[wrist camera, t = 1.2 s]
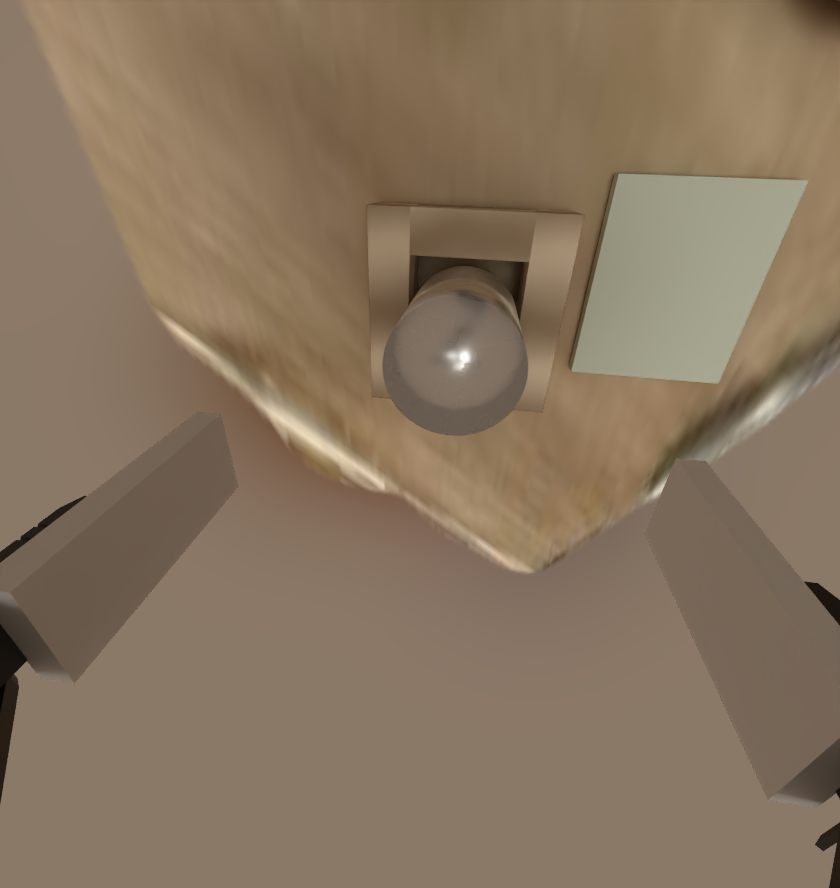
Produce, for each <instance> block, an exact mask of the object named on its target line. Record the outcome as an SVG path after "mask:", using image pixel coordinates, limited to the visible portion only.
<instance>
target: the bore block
mask: <svg viewBox="0 0 840 888" xmlns="http://www.w3.org/2000/svg"><path fill="white" fill-rule="evenodd" d="M583 220H584V215H583V214H580V213H577V212H573V211H559V210H538V209H516V208H494V207H472V206H451V205H429V204H407V203H385V202H381V203H374V204H368V205H367V231H368V266H369V302H370V338H371V373H372V397H378V398H389V399H391V397H390V395H389V393H388V391H387V388H386V386H385V382H384V377H383V369H382V364H383V354H384V349H385V346H386V343H387V340H388V338H389V336H390V334H391V332H392V331H393V329H394V328H395V326H396V325H397V323H398V322H399V320H400V319H401V317H402V315H403V314H404V312H405V311H406V309H407V308H408V306H409V305H410V303H411V302H412V300H413V299H414V297H415V296H416V294H417V287H418V256H433V257H450V258H467V259H484V260H501V261H519V262H523V264H522V271H521V277H520V284H519V290H518V297H517V303H516V310H517V314H518V318H519V322H520V326H521V331H522V335H523V339H524V343H525V347H526V352H527V357H528V377H527V382H526V386H525V389H524V392H523V394H522V396H521V398H520V400H519V401H518V403H517V405H516V406H515V407H514V409H513V410H520V411H531V412H541V413H542V412H543V407H544V403H545V398H546V393H547V389H548V384H549V379H550V375H551V370H552V365H553V360H554V356H555V351H556V346H557V342H558V337H559V332H560V328H561V323H562V318H563V314H564V309H565V304H566V300H567V295H568V290H569V285H570V281H571V276H572V271H573V267H574V262H575V257H576V253H577V248H578V243H579V239H580V234H581V229H582V224H583Z"/></svg>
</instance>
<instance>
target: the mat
mask: <svg viewBox="0 0 840 888" xmlns="http://www.w3.org/2000/svg"><path fill="white" fill-rule="evenodd" d="M807 183H808V181H807V180H780V179H753V178H726V177H699V176H672V175H645V174H614V178H613V182H612V186H611V190H610V195H609V199H608V203H607V207H606V211H605V216H604V220H603V224H602V228H601V233H600V237H599V241H598V245H597V250H596V254H595V258H594V262H593V267H592V271H591V275H590V279H589V284H588V288H587V292H586V296H585V301H584V305H583V309H582V313H581V318H580V322H579V326H578V330H577V335H576V339H575V343H574V347H573V352H572V356H571V360H570V364H569V368H570V370H571V372H583V373H595V374H607V375H619V376H632V377H644V378H656V379H668V380H680V381H693V382H705V383H717V384H718V383H719V381H720V378H721V376H722V374H723V372H724V369H725V367H726V365H727V363H728V360H729V358H730V356H731V354H732V351H733V349H734V347H735V345H736V342H737V340H738V338H739V336H740V333H741V331H742V329H743V327H744V324H745V322H746V320H747V318H748V315H749V313H750V311H751V309H752V306H753V304H754V302H755V300H756V297H757V295H758V293H759V291H760V288H761V286H762V284H763V282H764V279H765V277H766V275H767V273H768V270H769V268H770V266H771V264H772V261H773V259H774V257H775V255H776V252H777V250H778V248H779V246H780V243H781V241H782V239H783V237H784V234H785V232H786V230H787V228H788V225H789V223H790V221H791V219H792V216H793V214H794V212H795V210H796V207H797V205H798V203H799V201H800V198H801V196H802V194H803V192H804V189H805V187H806V185H807Z"/></svg>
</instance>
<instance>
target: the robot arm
mask: <svg viewBox="0 0 840 888" xmlns="http://www.w3.org/2000/svg"><path fill="white" fill-rule="evenodd" d="M237 488H238V483H237V479H236V475H235V470H234V466H233V462H232V458H231V453H230V449H229V445H228V441H227V437H226V433H225V428H224V424H223V420H222V416H221V414H216V413H207V412H196V413H195V414H194V415H192V416H191V417H190V418H188V419H187V420H186V421H184V422H183V423H182V424H180V425H179V426H178V427H177V428H175V429H174V430H173V431H172V432H170V433H169V434H168V435H166V436H165V437H164V438H162V439H161V440H160V441H158V442H157V443H156V444H155V445H153V446H152V447H150V448H149V449H148V450H147V451H146V452H144V453H143V454H141V455H140V456H139V457H137V458H136V459H135V460H134V461H132V462H131V463H130V464H128V465H127V466H126V467H124V468H123V469H122V470H121V471H119V472H118V473H117V474H115V475H114V476H113V477H111V478H110V479H109V480H107V481H106V482H105V483H104V484H102V485H101V486H100V487H98V488H97V489H96V490H95V491H93V492H92V493H91V494H89V495H88V496H83V497H81V498H79V499H77V500H75V501H73V502H71V503H69V504H67V505H65V506H63V507H60V508H59V509H57V510H56V511H55V512H53V513H52V514H51V515H49V516H48V517H47V518H45V519H44V520H43V521H41V522H40V523H39V524H38V527H33V528H32V529H30V530H29V531H28V532H27V533H25V534H24V535H22V536H21V539H20V540H16V541H14V542H13V543H12V544H10V545H9V546H8V547H6V548H5V549H4V550H2V551H1V552H0V802H1V796H2V789H3V783H4V777H5V771H6V764H7V758H8V752H9V746H10V739H11V733H12V727H13V721H14V715H15V709H16V702H17V696H18V690H19V685H18V679H17V677H16V676H15V675H14V673H15V672H16V671H17V670H18V669H19V668H20V667H21V666H22V665H23V664H24V663H25V662H26V661H28V663H29V664H30V665H31V667H32V668H33V669H34V670H35V672H36V673H37V674H38V676H39V677H40V678H45V679H50V680H57V681H62V682H68V683H75V682H76V681H77V680H78V679H79V677H80V676H81V675H82V674H83V673H84V672H85V670H86V669H87V668H88V667H89V666H90V664H91V663H92V662H93V661H94V659H95V658H96V657H97V656H98V655H99V654H100V652H101V651H102V650H103V649H104V647H105V646H106V645H107V644H108V643H109V641H110V640H111V639H112V638H113V637H114V636H115V634H116V633H117V632H118V631H119V629H120V628H121V627H122V626H123V625H124V624H125V622H126V621H127V620H128V619H129V618H130V616H131V615H132V614H133V613H134V611H135V610H136V609H137V608H138V606H140V604H141V603H142V602H143V601H144V600H145V598H146V597H147V596H148V594H149V593H150V592H151V591H152V590H153V589H154V587H155V586H156V585H157V584H158V583H159V582H160V580H161V579H162V578H163V577H164V575H165V574H166V573H167V572H168V570H170V568H171V567H172V566H173V565H174V564H175V562H176V561H177V560H178V559H179V558H180V556H181V555H182V554H183V553H184V552H185V550H186V549H187V548H188V547H189V546H190V544H191V543H192V542H193V541H194V539H195V538H196V537H197V536H198V535H199V534H200V532H201V531H202V530H203V529H204V527H205V526H206V525H207V524H208V523H209V522H210V520H211V519H212V518H213V517H214V515H215V514H216V513H217V512H218V510H219V509H220V508H221V507H222V506H223V505H224V504H225V502H226V501H227V500H228V499H229V498H230V496H231V495H232V494H233V493H234V491H235V490H236V489H237ZM645 536H646V538H647V540H648V542H649V544H650V547H651V549H652V551H653V553H654V555H655V557H656V559H657V562H658V564H659V566H660V568H661V570H662V572H663V575H664V577H665V579H666V581H667V583H668V585H669V587H670V589H671V592H672V594H673V596H674V598H675V600H676V602H677V605H678V607H679V609H680V611H681V613H682V616H683V617H684V620H685V622H686V624H687V626H688V629H689V630H690V633H691V635H692V637H693V639H694V641H695V644H696V646H697V648H698V650H699V652H700V654H701V657H702V659H703V661H704V663H705V665H706V667H707V670H708V672H709V674H710V676H711V678H712V680H713V682H714V685H715V687H716V689H717V691H718V693H719V695H720V697H721V700H722V702H723V704H724V706H725V708H726V711H727V712H728V715H729V717H730V719H731V721H732V723H733V726H734V728H735V730H736V732H737V734H738V736H739V738H740V741H741V743H742V745H743V747H744V749H745V751H746V754H747V756H748V758H749V760H750V762H751V764H752V767H753V769H754V771H755V773H756V775H757V777H758V779H759V782H760V784H761V786H762V788H763V790H764V792H765V795H766V797H767V799H768V800H770V801H776V802H782V803H788V804H794V805H800V806H806V807H812V808H817V807H818V806H819V805H821V804H822V803H824V802H825V801H826V800H828V799H829V798H830V797H831V796H833V795H834V794H835V793H837V795H838V796H839V798H840V600H839V599H838V598H836V597H835V596H834V595H832V594H831V593H830V592H828V591H827V590H826V589H824V588H823V587H822V586H821V585H819V584H818V583H812V582H804V581H803V580H802V579H801V578H800V576H799V575H798V574H797V573H796V572H795V570H794V569H793V568H792V567H791V565H790V564H789V563H788V562H787V560H786V559H785V558H784V557H783V556H782V554H781V553H780V552H779V551H778V549H777V548H776V547H775V546H774V544H773V543H772V542H771V541H770V540H769V538H768V537H767V536H766V535H765V533H764V532H763V531H762V530H761V528H760V527H759V526H758V525H757V524H756V522H755V521H754V520H753V519H752V518H751V516H750V515H749V514H748V512H746V510H745V509H744V508H743V506H742V505H741V504H740V503H739V501H738V500H737V499H736V498H735V497H734V495H733V494H732V493H731V492H730V490H729V489H728V488H727V487H726V486H725V484H724V483H723V482H722V481H721V479H720V478H719V477H718V476H717V474H716V473H715V472H714V471H713V470H712V468H711V467H710V466H709V465H708V463H707V462H706V461H698V460H687V459H677V458H676V460H675V463H674V465H673V467H672V470H671V472H670V474H669V477H668V479H667V481H666V484H665V486H664V488H663V491H662V493H661V495H660V498H659V500H658V503H657V505H656V507H655V510H654V512H653V514H652V517H651V519H650V522H649V524H648V526H647V528H646V531H645ZM835 843H837V846H836V852H835V858H834V863H833V869H832V874H831V880H830V886H829V888H840V823H838V824H837V825H835V826H834V827H832V828H831V829H829V830H828V831H827V832H825V833H824V834H822V835H821V836H820V838H819V839H818V841H817V842H816V844H815V845H816V846H817V847H819V848H820V849H821V850H822V851H824V850H826V849H827V848H829V847H830V846H832V845H834V844H835Z"/></svg>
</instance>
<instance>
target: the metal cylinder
mask: <svg viewBox="0 0 840 888" xmlns="http://www.w3.org/2000/svg"><path fill="white" fill-rule="evenodd" d="M382 369H383V377H384V382H385V386H386V388H387V391H388V393H389V395H390V397H391V399H392V401H393V402H394V404H395V405H396V407H397V408H398V409H399V410H400V411H401V412H402V414H404V415H405V416H406V417H407V418H408V419H409V420H411V421H412V422H414V423H415V424H417V425H418V426H420V427H422V428H424V429H427V430H429V431H432V432H435V433H439V434H445V435H468V434H473V433H477V432H480V431H483V430H485V429H488V428H490V427H492V426H494V425H495V424H497V423H499V422H500V421H501V420H502V419H504V418H505V417H506V416H507V415H508V414H509V413H510V412H511V411H512V410H513V409H514V407H515V406H516V405H517V403H518V401H519V400H520V398H521V396H522V394H523V392H524V389H525V386H526V382H527V377H528V357H527V352H526V347H525V343H524V339H523V335H522V331H521V326H520V322H519V318H518V314H517V310H516V305H515V302H514V299H513V297H512V295H511V293H510V291H509V290H508V288H507V287H506V285H505V284H504V283H503V282H502V281H501V280H500V279H499V278H497V277H496V276H495V275H493V274H492V273H490V272H488V271H486V270H484V269H481V268H477V267H472V266H457V267H451V268H448V269H445V270H443V271H440V272H438V273H437V274H435V275H434V276H432V277H431V278H430V279H428V280H427V281H426V282H425V283H424V284H423V286H422V287H421V288H420V290H419V291H418V292H417V294H416V296H415V297H414V299H413V300H412V302H411V303H410V305H409V306H408V308H407V309H406V311H405V312H404V314H403V315H402V317H401V319H400V320H399V322H398V323H397V325H396V326H395V328H394V329H393V331H392V332H391V334H390V336H389V338H388V340H387V343H386V346H385V349H384V354H383V364H382Z"/></svg>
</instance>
